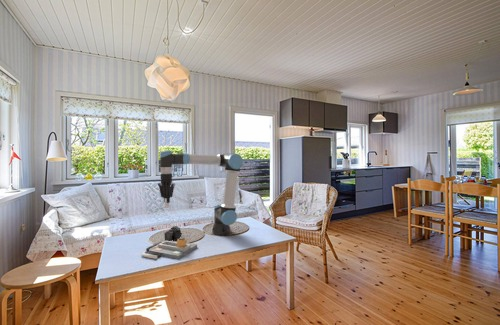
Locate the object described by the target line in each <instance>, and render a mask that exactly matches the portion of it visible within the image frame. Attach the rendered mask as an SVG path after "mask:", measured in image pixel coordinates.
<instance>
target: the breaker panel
mask: <svg viewBox="0 0 500 325" xmlns="http://www.w3.org/2000/svg"><path fill="white" fill-rule="evenodd" d="M161 242H162V243H160V244H158V247H156V248H154V249H152V250H150V251H149V252H152V253H157V254H160V255H161V256H160V257H165V258H171V259H175V260H176V259H177V260H179V259H181V258H183V257H184V256H186V255H187V254H189V253H190V252H192V251H194V250H196V249H197V248H198V244H197V243H191V242H186V247H184V248H182V247H177V240H174V241H172V240H171V241H165V240H164V241H161Z"/></svg>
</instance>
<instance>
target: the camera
mask: <svg viewBox="0 0 500 325" xmlns="http://www.w3.org/2000/svg"><path fill="white" fill-rule="evenodd" d="M182 235H183V233H182V230H181V227H179V226H177V225H173V226H172V227H170V228H169V230H166V231H165V232H164V241H171V240H174V241H177V240H178V239H179V238H180V237H182Z"/></svg>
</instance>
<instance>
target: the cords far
mask: <svg viewBox="0 0 500 325" xmlns="http://www.w3.org/2000/svg"><path fill="white" fill-rule="evenodd" d="M140 256H141V257H142V258H149V259H154V260H157V259H158V258H160V257H162V256H161V255H160V254H157V253H152V252H150V251H145V252H142V253H141V255H140Z"/></svg>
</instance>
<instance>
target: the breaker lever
mask: <svg viewBox="0 0 500 325" xmlns="http://www.w3.org/2000/svg"><path fill="white" fill-rule="evenodd" d="M176 241H177V247H182V248H184V247H186V243H187V238H186V237H182V236H181V238H179V239H177V240H176Z"/></svg>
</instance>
